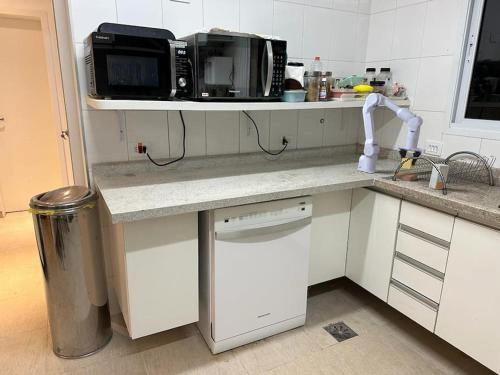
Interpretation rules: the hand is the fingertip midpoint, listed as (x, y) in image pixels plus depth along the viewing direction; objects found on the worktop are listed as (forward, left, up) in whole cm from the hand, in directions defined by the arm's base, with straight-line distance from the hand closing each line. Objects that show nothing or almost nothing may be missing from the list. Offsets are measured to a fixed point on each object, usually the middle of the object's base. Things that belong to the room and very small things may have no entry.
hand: (407, 164), depth 188 cm
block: (0, 0, -2) cm, 2 cm away
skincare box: (+18, -7, -8) cm, 21 cm away
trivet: (0, 0, -8) cm, 8 cm away
